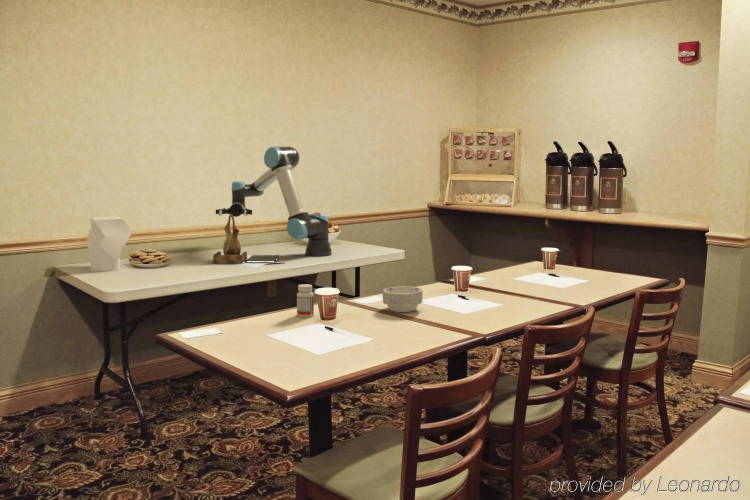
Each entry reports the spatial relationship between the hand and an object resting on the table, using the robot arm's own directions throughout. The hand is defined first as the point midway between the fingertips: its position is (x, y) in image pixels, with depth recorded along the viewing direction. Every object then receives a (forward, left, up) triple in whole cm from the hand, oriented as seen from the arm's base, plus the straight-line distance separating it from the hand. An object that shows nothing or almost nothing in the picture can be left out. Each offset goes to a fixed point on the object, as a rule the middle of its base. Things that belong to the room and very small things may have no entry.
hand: (232, 213), depth 374 cm
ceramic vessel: (-1, +10, -25) cm, 27 cm away
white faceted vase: (+56, +34, -25) cm, 70 cm away
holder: (-1, +14, -24) cm, 28 cm away
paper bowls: (-89, +120, -25) cm, 152 cm away
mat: (-18, +7, -24) cm, 31 cm away
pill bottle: (-53, +130, -25) cm, 143 cm away
